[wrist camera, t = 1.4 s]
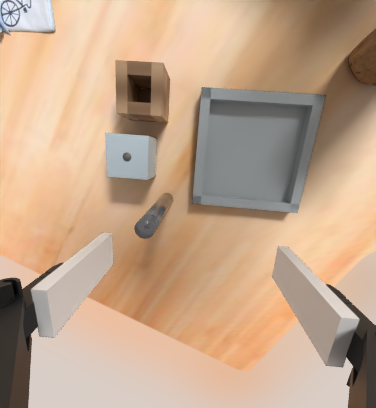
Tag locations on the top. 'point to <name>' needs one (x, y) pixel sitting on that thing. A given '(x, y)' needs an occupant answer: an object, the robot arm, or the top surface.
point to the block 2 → (365, 60)
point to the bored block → (146, 79)
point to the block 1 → (131, 156)
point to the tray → (254, 148)
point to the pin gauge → (153, 217)
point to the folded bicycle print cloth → (26, 16)
